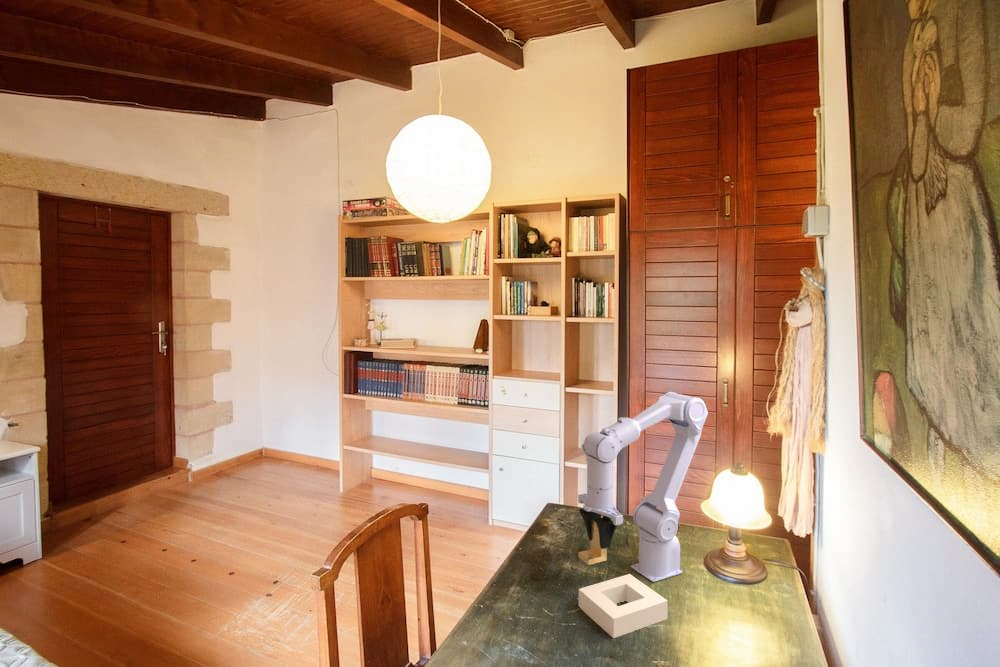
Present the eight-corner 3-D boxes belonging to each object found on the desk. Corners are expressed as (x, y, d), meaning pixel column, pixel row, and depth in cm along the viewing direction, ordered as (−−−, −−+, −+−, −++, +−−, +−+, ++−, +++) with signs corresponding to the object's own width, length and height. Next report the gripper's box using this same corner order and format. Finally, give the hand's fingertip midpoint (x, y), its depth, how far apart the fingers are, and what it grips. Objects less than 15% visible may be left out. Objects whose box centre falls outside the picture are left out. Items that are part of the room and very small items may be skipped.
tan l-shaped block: (596, 552, 126) (596, 518, 125) (606, 560, 122) (607, 525, 121) (578, 557, 123) (578, 522, 123) (588, 565, 120) (588, 529, 119)
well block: (629, 590, 122) (629, 573, 122) (667, 619, 112) (667, 600, 111) (578, 606, 116) (578, 588, 116) (613, 638, 105) (613, 618, 105)
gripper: (567, 478, 127) (567, 534, 128) (604, 499, 114) (604, 561, 115) (592, 474, 130) (591, 528, 131) (631, 494, 117) (630, 554, 118)
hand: (599, 543), depth 123 cm, fingers closed on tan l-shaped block, 4 cm apart
